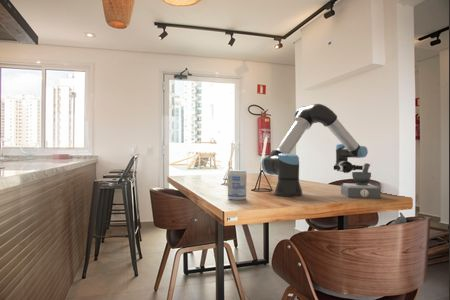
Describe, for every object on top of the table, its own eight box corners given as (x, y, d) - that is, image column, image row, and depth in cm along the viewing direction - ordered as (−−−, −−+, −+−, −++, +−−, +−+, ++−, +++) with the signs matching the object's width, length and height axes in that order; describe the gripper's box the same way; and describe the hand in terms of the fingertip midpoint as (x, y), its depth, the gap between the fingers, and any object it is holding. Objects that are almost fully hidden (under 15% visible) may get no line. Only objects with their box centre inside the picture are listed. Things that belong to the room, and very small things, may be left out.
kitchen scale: (348, 197, 149) (348, 186, 149) (340, 193, 166) (340, 183, 166) (380, 198, 147) (380, 186, 147) (369, 193, 163) (369, 183, 163)
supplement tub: (232, 200, 139) (232, 171, 139) (224, 198, 147) (224, 170, 147) (249, 199, 143) (249, 170, 143) (241, 197, 151) (241, 169, 151)
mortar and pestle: (363, 186, 150) (362, 163, 151) (348, 184, 159) (348, 163, 159) (376, 185, 155) (376, 163, 156) (361, 183, 164) (361, 162, 164)
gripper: (365, 172, 185) (377, 175, 164) (325, 172, 190) (332, 174, 169) (365, 161, 185) (376, 162, 165) (325, 161, 190) (332, 162, 169)
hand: (354, 168), depth 167 cm, fingers open, 13 cm apart
